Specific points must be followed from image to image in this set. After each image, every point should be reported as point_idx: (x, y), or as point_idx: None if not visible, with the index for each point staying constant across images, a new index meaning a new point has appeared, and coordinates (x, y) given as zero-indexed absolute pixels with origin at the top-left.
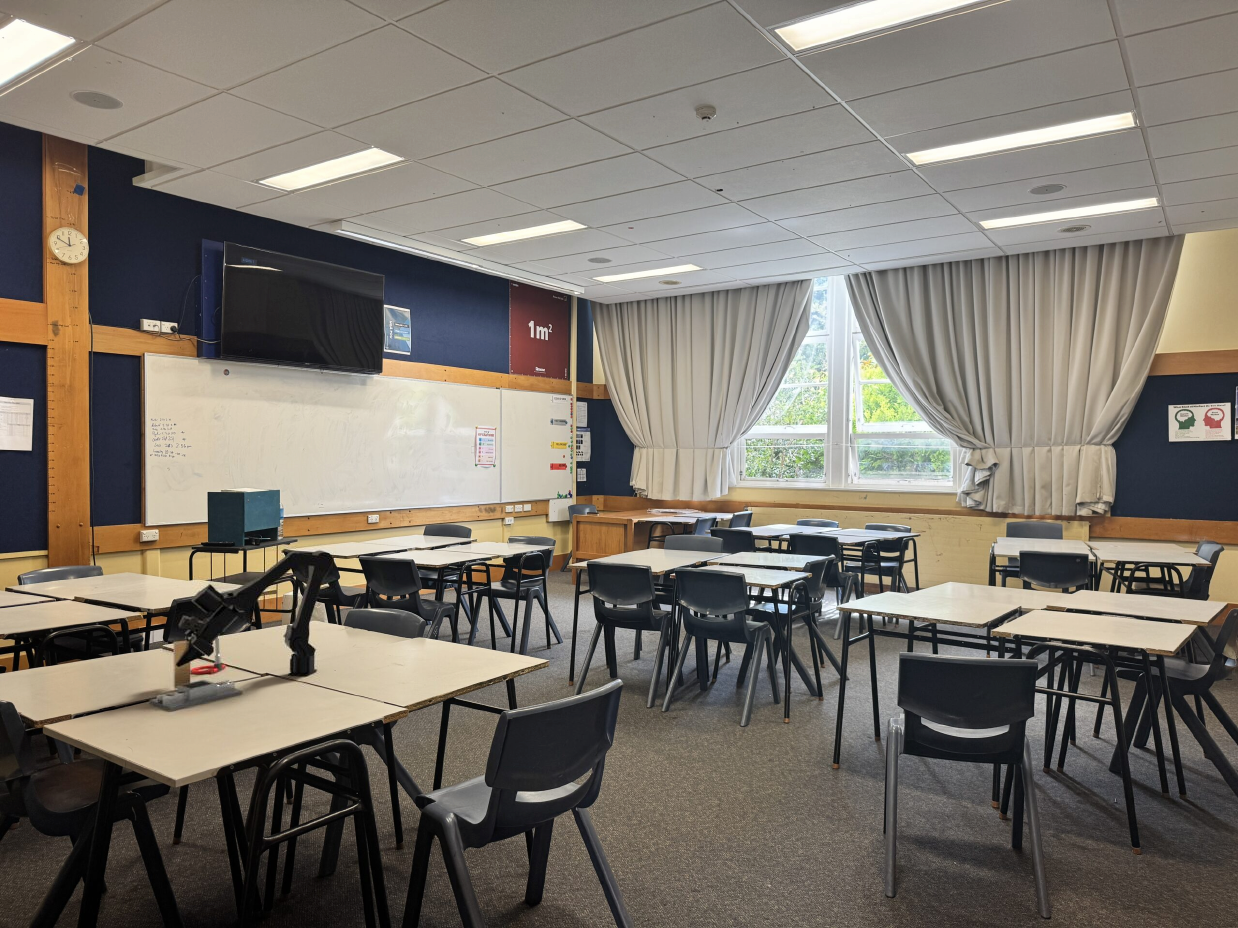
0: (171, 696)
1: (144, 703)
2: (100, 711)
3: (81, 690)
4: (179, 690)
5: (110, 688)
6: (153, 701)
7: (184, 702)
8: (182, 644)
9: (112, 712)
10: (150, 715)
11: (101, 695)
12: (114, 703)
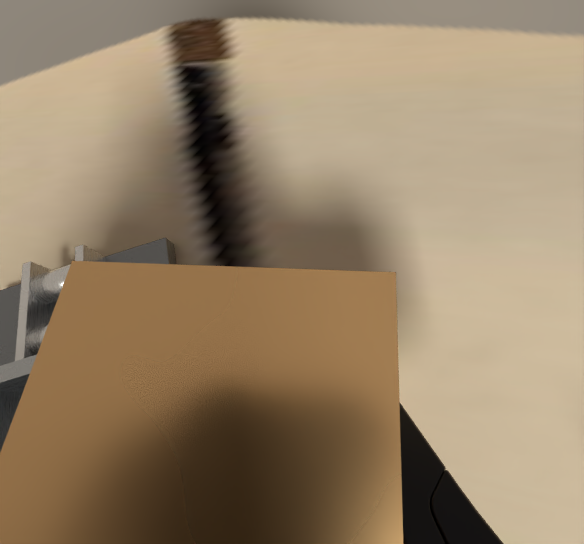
0: (21, 296)
1: (189, 229)
2: (195, 115)
3: (557, 54)
4: None
5: (541, 134)
6: (132, 248)
7: (11, 352)
8: (32, 451)
9: (155, 142)
10: (24, 233)
11: (423, 111)
12: (266, 147)
